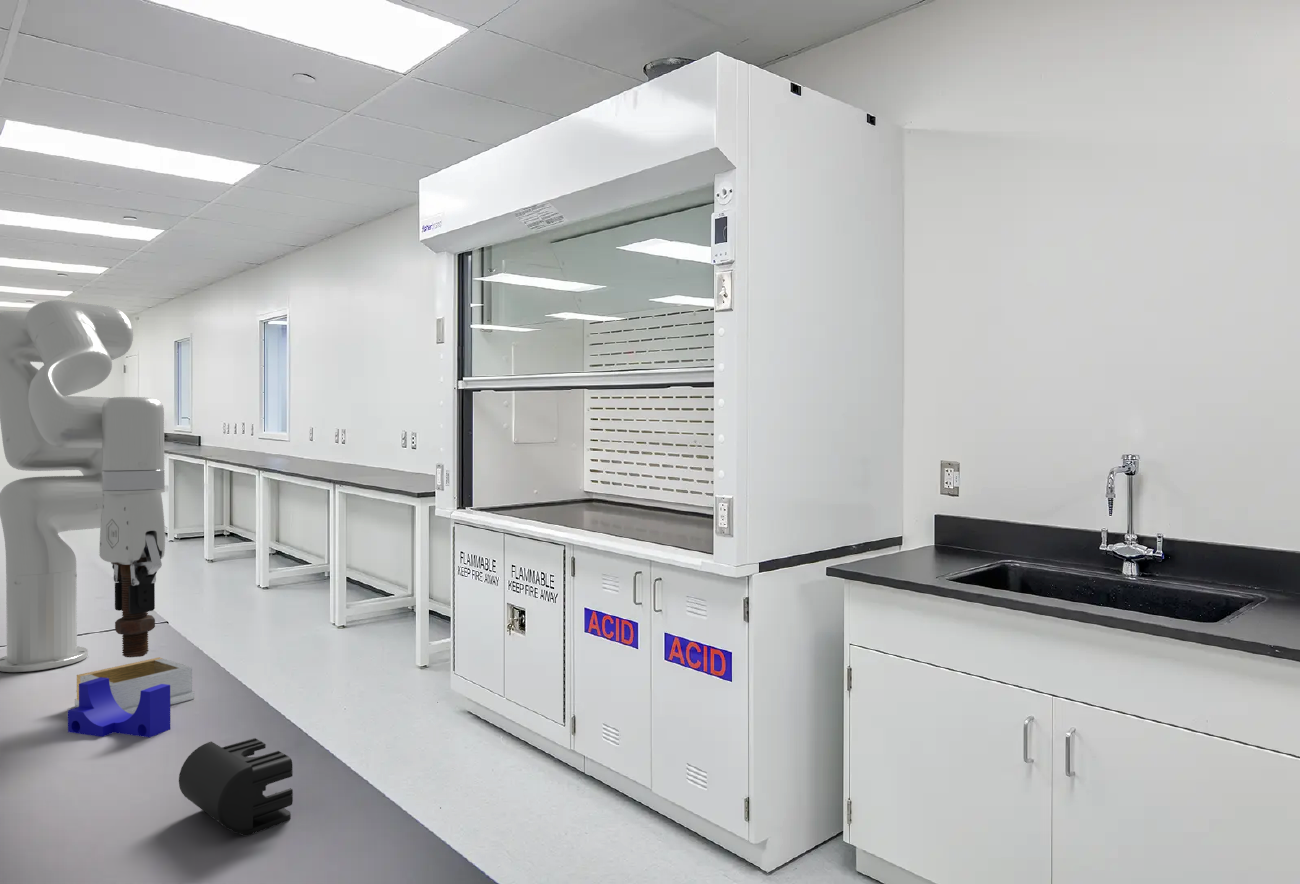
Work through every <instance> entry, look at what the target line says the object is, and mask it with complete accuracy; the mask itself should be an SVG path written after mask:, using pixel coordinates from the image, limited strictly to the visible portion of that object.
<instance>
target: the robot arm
mask: <svg viewBox="0 0 1300 884" xmlns="http://www.w3.org/2000/svg"><path fill="white" fill-rule="evenodd" d="M133 341H134V329H133V325H132V323H131V320H130V319H129V318H128V316H127V314H125V313H124V312H123V311H122V310H120V309H118V308H116V307H113V306H108V305H101V304H100V305H99V304H91V303H82V302H75V301H68V300H47V301H41V302H39V303H37V304H35V305H33V306H32V307H31V308H30V309H29V310H28V311H17V310H12V311H11V310H8V311H6V310H4V311H0V429H1V430H0V433H1V438H2V439H1V440H2V447H3V452H4V455H5V456H4V457H5V459H6V461H7V464H8V465H9V466H10V467H11V468H13V469H16V470H19V471H28V472H48V471H49V472H50V471H51V472H52V471H80V472H81V474H82V475H54V476H53V475H51V476H50V475H47V476H31V477H23V478H19V479H16V480H12V481H11V482H9V483H8V484H6V485H5V486H4V487H2V489H1V490H0V522H1V527H2V533H3V537H4V549H5V578H6V579H5V581H6V582H5V584H6V586H5V587H6V588H5V589H6V590H5V591H6V593H5V594H6V595H5V596H6V601H5V604H6V611H5V612H6V618H5V619H6V655H5V656H2V657H0V672H2V673H3V672H6V673H25V672H26V673H27V672H36V671H43V670H49V669H54V668H55V669H56V668H59V667H61V668H62V667H65V666H69V665H72V664H75V663H78V662H81V661H83V660H85V659H86V658H87V657H88V656H89V650H88V648H86V647H83V646H78V640H77V639H78V630H77V629H78V627H77V626H78V625H77V624H78V623H77V622H78V621H77V617H78V616H77V615H78V613H77V611H78V610H77V609H78V605H77V602H78V597H77V596H78V595H77V594H78V593H77V584H78V583H77V582H78V581H77V575H78V574H77V557H76V554H75V552H74V550H73V549H72V547H71V546H70V545H69V544H68V543H67V542H66V541H64V540H63V539H62V538H61V537H60V535H59V533H63V532H68V531H69V532H71V531H81V530H82V531H83V530H94V529H99V552H98V553H99V557H100V558H101V560H103V561H105V562H108V563H110V564H111V565H112V569H113V582H114V609H115V610H116V611H122V610H123V609H122V607H123V606H122V605H123V604H122V603H123V602H122V600H123V599H122V598H123V597H122V593H123V592H122V591H123V590H122V586H123V585H122V584H123V583H121V582H122V579H123V578H121V577H122V576H121V565H115V564H112V563H116V562H117V563H119V564H124V565H130V564H131V565H130V570H131V583H132V585H130V586H128V595H129V613H130V614H136V613H142V612H147V613H148V612H153V611H154V610H155V609H156V607H155V606H156V605H155V603H156V602H155V601H156V598H155V597H156V596H155V595H156V594H155V593H156V591H155V584H156V582H157V572H158V571H159V569H161V568H162V564H163V563H162V559H163V558H164V556H165V553H166V552H165V551H166V531H165V530H166V527H165V515H164V504H163V497H162V493H165V482H166V481H165V409H164V408H165V407H164V405H163V403H162V402H161V401H160V400H159V399H156V398H153V397H145V396H144V397H143V396H142V397H141V396H138V397H137V396H116V397H115V396H114V397H104V396H103V397H101V396H79V395H78V396H75V394H79V393H81V392H85V391H88V390H90V389H92V388H95V387H97V386H99V385H100V384H102V383H103V382H105V381H106V379H108V377H109V375H110V374H111V371H112V369H113V360H116V359H119V358H121V357H122V356H125V354H127V353H128V352H129V350H130V348H131V347H132V345H133ZM31 363H43V365H42V366H41V367H40V368H39V369H38V368H37V367H35V366H34V365H33V364H31ZM72 395H74V396H72ZM140 557H142V558H144V557H146V559H147V562H139V563H137V560H139V559H140ZM111 562H112V563H111ZM141 566H145V567H142V568H141V570H140V571H138V567H141Z"/></svg>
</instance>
